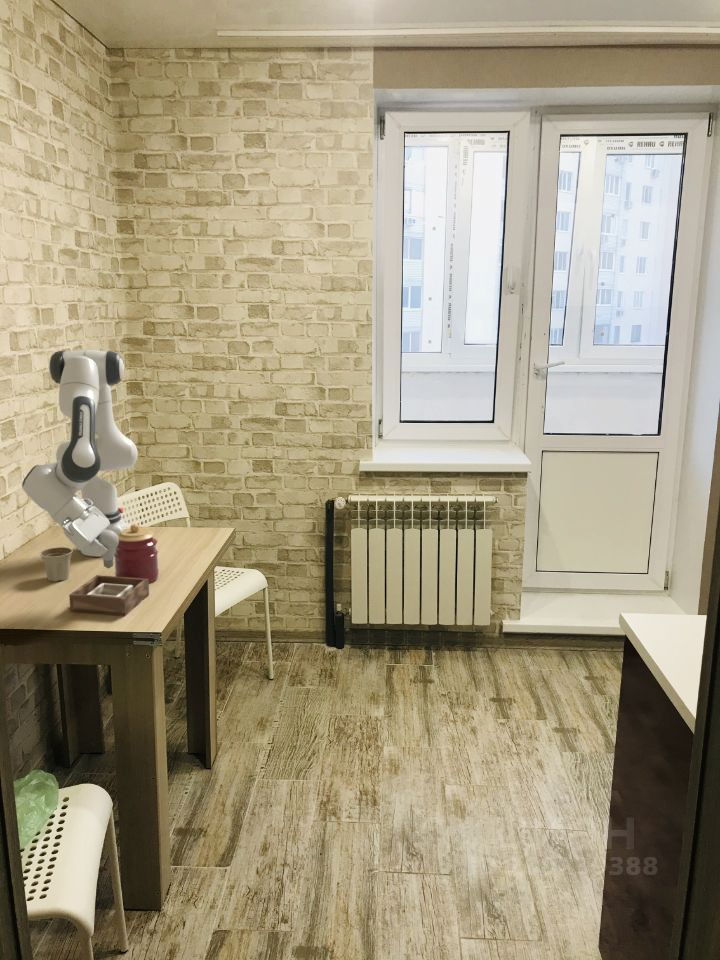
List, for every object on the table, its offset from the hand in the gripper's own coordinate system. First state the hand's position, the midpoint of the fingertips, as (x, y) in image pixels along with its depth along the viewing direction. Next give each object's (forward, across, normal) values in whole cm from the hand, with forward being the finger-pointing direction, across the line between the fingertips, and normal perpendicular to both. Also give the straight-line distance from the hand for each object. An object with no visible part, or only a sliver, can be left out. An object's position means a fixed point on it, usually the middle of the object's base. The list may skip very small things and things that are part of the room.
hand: (109, 548), depth 219 cm
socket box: (+11, 0, +12) cm, 16 cm away
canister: (+13, +20, +10) cm, 26 cm away
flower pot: (-4, +20, +28) cm, 34 cm away
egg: (+4, 0, +5) cm, 6 cm away
